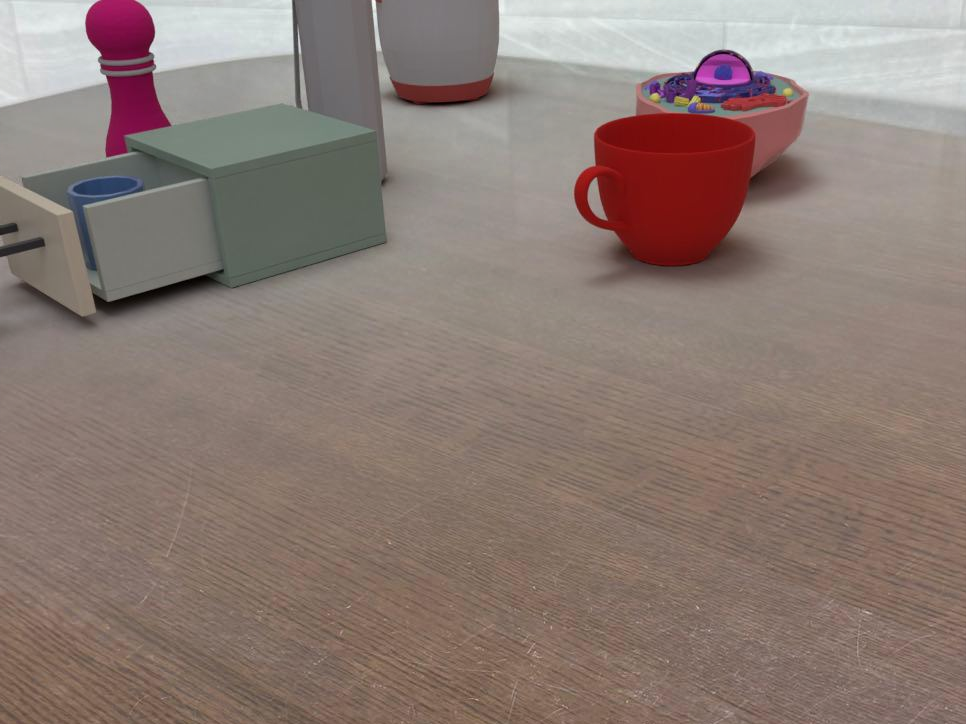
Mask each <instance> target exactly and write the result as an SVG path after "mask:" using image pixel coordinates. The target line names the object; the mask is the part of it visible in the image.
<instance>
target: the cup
mask: <svg viewBox="0 0 966 724" xmlns="http://www.w3.org/2000/svg"><path fill="white" fill-rule="evenodd" d="M143 191H145V187H144V182H143V180H141V179H138V178H136V177H132V176H119V175H118V176H117V175H116V176H104V177H96V178H91V179H87V180H82V181H79V182H77V183H75V184H73V185H71V186H69V187H68V189H67V196H68V200H69V205H70V209H71V211H73V214H74V218H75V223H76V227H77V231H78V235H79V240H80V244H81V248H82V253H83V257H84V261H85V265H86V267H87V268H89V269H91V270H95V271H97V267H96V263H95V259H94V254H93V250H92V246H91V241H90V237H89V233H88V228H87V224H86V220H85V215H84V211H83V207H82V206H83V205H87V204H92V203H96V202H100V201H104V200H109V199H113V198H117V197H121V196H126V195H130V194H134V193H138V192H143Z"/></svg>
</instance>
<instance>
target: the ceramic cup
mask: <svg viewBox="0 0 966 724" xmlns="http://www.w3.org/2000/svg"><path fill="white" fill-rule="evenodd" d="M593 149H594V162H595V163H594V165H593V166H592V165H591V166H589V167H587V168H585V169H584V170H583V171H581V173H580V174H579V175H578V177H577V178H576V181H575V184H574V187H573V198H574V203H575V207H576V209H577V211H578V213H579V214H580V215H581V217H582V218H583V219H584V220H585V221H586V222H587V223H588V224H590V225H592V226H594V227H596V228H598V229H603V230H606V231H611V232H614V234H615V235H616V236H617V238H618V239H619V240H620V241H621V243H622V244H623V245H624V246H625V247H626V248H627V249H628V250H629V252H630V253H631V255H632V257H634V259H636V260H638V261H640V262H643V263H646V264H651V265H655V266H669V267H672V266H673V267H674V266H685V265H692V264H696V263H699V262H701V261H703V260H706V259H707V258H708V257H709V256H710V253H712V251H714V249H715V248H717V247H718V245H720V243H721V242H722V241H723V240H724V239H725V238H726V236H727V235H728V234H729V233H730V231H731V229H732V228H733V227H734V225H736V222H737V220H738V218H739V216H740V215H741V212H742V209H743V207H744V204H745V201H746V198H747V195H748V194H747V193H748V190H749V186H750V181H751V178H750V176H751V170H752V164H753V157H754V149H755V132H754V131H753V129H752V128H751V127H749V126H748V125H746V124H744V123H742V122H739V121H736V120H732V119H729V118H724V117H719V116H712V115H704V114H691V113H658V114H645V115H637V116H636V115H630V116H627V117H620V118H617V119H614V120H611V121H608V122H606V123H603V124H601V125H600V126H598V127H597V128H596V130H595V131H594V133H593ZM595 179H596V182H597V188H598V194H599V198H600V204H601V206H602V209H603V213H604V215H605V218H606V219H603V218H600V217H598V216H597V215H596V214H595V213H594V211H593V210H592V208H591V206H590V203H589V197H588V196H589V188H590V186H591V184H592V182H593V181H594V180H595Z"/></svg>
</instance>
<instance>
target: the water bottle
mask: <svg viewBox="0 0 966 724" xmlns="http://www.w3.org/2000/svg"><path fill="white" fill-rule="evenodd" d="M291 11H292V12H291V14H292V15H291V16H292V43H293V71H294V100H295V105H296V106H295V107H297V108H300V109H303V104H302V97H301V95H302V94H301V74H300V73H301V70H300V55H301V61H302V69H303V78H304V86H305V95H306V103H307V111H311V112H314V113H317V114H321V115H324V116H328V117H331V118H334V119H338V120H341V121H345V122H348V123H352V124H355V125H358V126H362V127H365V128H369V129H372V130H376V132H377V144H378V155H379V166H380V176H381V182H383V180H384V179H385V178H386V177H387V175H388V163H387V153H386V141H385V130H384V119H383V111H382V110H383V108H382V97H381V87H380V76H379V75H380V74H379V64H378V54H377V41H376V31H375V21H374V11H373V0H291ZM299 46H300V47H299Z"/></svg>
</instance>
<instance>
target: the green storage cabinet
mask: <svg viewBox="0 0 966 724" xmlns="http://www.w3.org/2000/svg"><path fill="white" fill-rule="evenodd" d="M124 137H125V142H126V145H127V151H128V153H130V152H135V151H143V152H145V153H148V154H150V155H153V156H155V157H158V158H160V159H163V160H166V161H168V162H171V163H173V164H176V165H178V166H181V167H183V168H186V169H189V170H191V171H194V172H196V173H199V174H201V175H204V176H206V177H209V178H208V180H209V186H210V191H211V197H212V203H213V209H214V215H215V221H216V227H217V232H218V238H219V244H220V250H221V256H222V262H223V268H224V269H222V270H219V271H215V272H212V273H208V274H205V275H204V276H206V277H208V278H210V279H212V280H215V281H216V282H218V283H220V284H222V285H224V286H226V287H228V288H230V289H232V288H236V287H241V286H243V285H246V284H251V283H253V282H257V281H260V280H263V279H266V278H270V277H273V276H277V275H279V274H280V275H281V274H283V273H287V272H291V271H293V270H297V269H300V268H303V267H308V266H310V265H314V264H318V263H320V262H324V261H328V260H332V259H334V258H337V257H340V256H345V255H347V254H350V253H355V252H358V251H361V250H364V249H367V248H370V247H375V246H379V245H381V244H384V243H387V233H386V221H385V211H384V210H385V209H384V200H383V189H382V188H383V187H382V181H381V176H380V166H379V155H378V144H377V132H376V130H372V129H369V128H365V127H362V126H358V125H355V124H352V123H348V122H345V121H341V120H338V119H334V118H331V117H328V116H324V115H321V114H317V113H314V112H311V111H308V109H304V108H302V109H300V108H297V107H296V106H293V105H290V104H286V103H283V102H282V103H277V104H272V105H268V106H262V107H258V108H252V109H248V110H243V111H238V112H233V113H228V114H224V115H220V116H213V117H209V118H204V119H199V120H195V121H189V122H184V123H180V124H179V123H178V124H174V125H172V126H169V127H164V128H159V129H154V130H149V131H145V132H140V133H135V134H130V135H125V136H124Z"/></svg>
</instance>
